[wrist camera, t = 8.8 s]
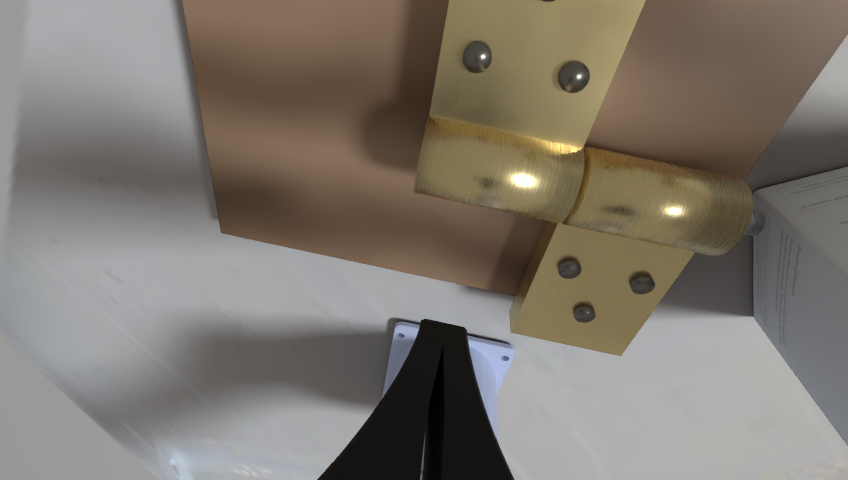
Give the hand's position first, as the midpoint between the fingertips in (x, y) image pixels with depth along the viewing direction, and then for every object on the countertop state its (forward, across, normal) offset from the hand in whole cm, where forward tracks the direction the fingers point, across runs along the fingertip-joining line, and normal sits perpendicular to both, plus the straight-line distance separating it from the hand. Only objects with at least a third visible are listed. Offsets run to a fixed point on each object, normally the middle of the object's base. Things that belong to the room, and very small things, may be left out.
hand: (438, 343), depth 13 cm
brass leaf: (+8, -1, -7) cm, 11 cm away
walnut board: (+10, 0, -3) cm, 11 cm away
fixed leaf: (+8, -8, +1) cm, 12 cm away
